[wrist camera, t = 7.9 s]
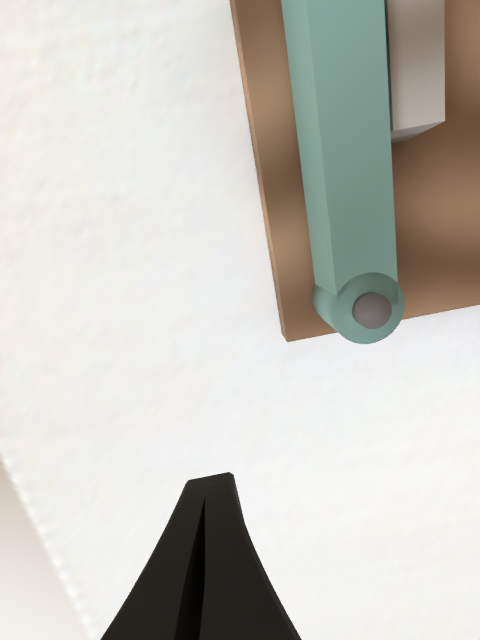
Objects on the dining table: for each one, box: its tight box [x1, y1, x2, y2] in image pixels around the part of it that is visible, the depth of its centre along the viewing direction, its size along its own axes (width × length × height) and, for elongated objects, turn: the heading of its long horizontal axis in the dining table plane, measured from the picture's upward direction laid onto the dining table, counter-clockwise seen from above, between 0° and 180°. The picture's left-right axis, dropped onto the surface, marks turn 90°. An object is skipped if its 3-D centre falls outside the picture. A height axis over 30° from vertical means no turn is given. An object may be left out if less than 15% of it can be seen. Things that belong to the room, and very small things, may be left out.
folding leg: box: [281, 0, 405, 344], centre depth 12 cm, size 14×3×4 cm, turn 10°
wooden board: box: [230, 0, 480, 342], centre depth 14 cm, size 16×18×4 cm
